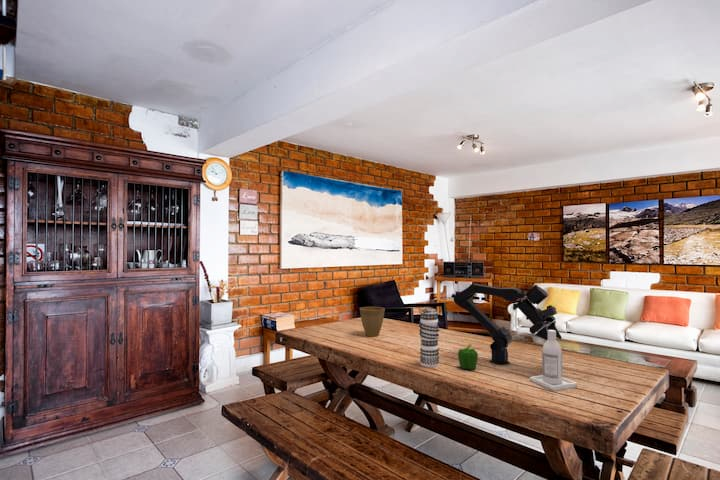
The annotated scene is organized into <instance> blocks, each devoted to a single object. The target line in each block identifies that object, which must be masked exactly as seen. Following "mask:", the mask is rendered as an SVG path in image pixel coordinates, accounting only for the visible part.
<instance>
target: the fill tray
mask: <svg viewBox="0 0 720 480" xmlns="http://www.w3.org/2000/svg"><path fill="white" fill-rule="evenodd" d="M529 382H532V383H534V384H535V385H538V386H541V387H543V388H545V389H547V390H549V391H552V392H557V391H562V390H569V389H573V388H574V389H575V388H578V383H577V382H576V381H573V380H571V379H568V378H565V377H564V376H562V384H560V385H551V384H548V383H545V382H544V381H543V378H542V374H540V375H533V376H530V377H529Z"/></svg>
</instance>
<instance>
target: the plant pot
mask: <svg viewBox="0 0 720 480" xmlns="http://www.w3.org/2000/svg"><path fill="white" fill-rule="evenodd" d="M385 311H386V308H385V307H381V306H363V307H359V313H360V319H361V324H362V328H363V331H364V333H365V336H367V337H371V338H372V337H378V336H379V335H380V332H381V330H382V326H383V321H384V317H385Z"/></svg>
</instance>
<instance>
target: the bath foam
mask: <svg viewBox="0 0 720 480" xmlns="http://www.w3.org/2000/svg"><path fill="white" fill-rule="evenodd" d="M541 354H542V355H541V357H542V358H541V363H542V364H541V365H542V366H541V367H542V368H541V369H542V371H541V372H542V373H541V375H542V378H543V381H544V382H545V383H548V384H551V385H560V384H562V377H563V351H562V348H561V345H560V344H559V342H558V341H557V338H556V331H555V330H548V340H545V342H544V344H543V346H542V351H541Z"/></svg>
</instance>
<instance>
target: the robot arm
mask: <svg viewBox="0 0 720 480" xmlns="http://www.w3.org/2000/svg"><path fill="white" fill-rule="evenodd" d="M476 293H477V294H483V295H489V296H495V297H499V298H501V299H503V300H506V301H508V302H511V303H512V306H513V307H512V310H513V311H515V310H519V311H520V313H522V314H523V315H524V316H525V319H526V321H529V322H531V324H532V326H530V327H529V333H530V334H531V335H534V336H536V337H539V338H541V339H544V340H545V341H547V340H548V330H555V331H556V339H558V340H562V338H563V337H562V336H561V334H560V332H559V330H558V328H557V326H556V323H557V320H556V318H555V317H554V315H556V314H558V312H557V308H556V307H555V306H553V305H552V304H549V305H547V306H546V308H544V309H543V310H542V309H541V308H537V307H536V306H535V305H539V304H541V303H542V302H543V301H544V300H545V299H547V298H548V297H549V294H548V293H547V291H546V290H545V289H543V288H541V287H540V286H538V284H535V285H533V286H532V287H531V288H530V290H528V291H525V290H521V288H520V287H499V286H492V285H485V284H479V283H472V284H470V285H469V286H467V287H466V288H464V289H463V290H461V291H460V292H456V293H455V294H454V296H453V302H454V304H455V305H457V306H458V307H460V308H462V309H463V310H466V311H467V312H468V313H469V314H470V315H471V316H472V317H473V318H474V319H475V321H477V322H478V323H479V324H480V325H481V326H482V327H483V328H484V329H485V330H486V331H488V333H489V334H490V336H491V339H492V341H493V342H492V343H490V344H489V348H490V350H491V359H489V360H488V361H490V362H491V363H494V364H496V365H506V364H510V363H511V362H510V361H509V352H508V347H509V345H511V344H512V342H513V337H512V335H511V332H510V331H508V330H507V329H506V327H505V326H502V327H499V326H498V325H496V324H495V323H494V322H493V321H492V319H490V318H489V317H488V315H486V314H485V313H484V312H483V311H482V310H481V308H479V307H478V306H477V305H476V304H475V302H474V299H473V298H472V297H473V296H474V295H475V294H476ZM524 298H525V299H524ZM516 301H518V302H516ZM513 302H516V303H513Z"/></svg>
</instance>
